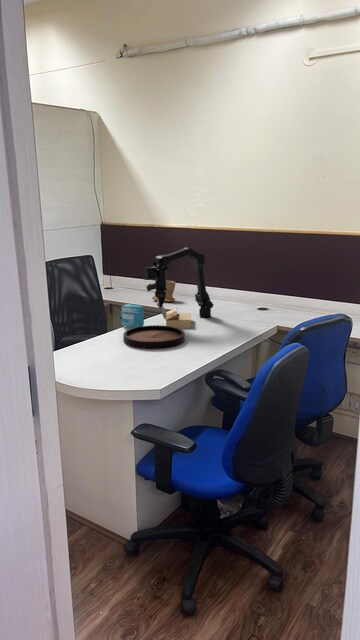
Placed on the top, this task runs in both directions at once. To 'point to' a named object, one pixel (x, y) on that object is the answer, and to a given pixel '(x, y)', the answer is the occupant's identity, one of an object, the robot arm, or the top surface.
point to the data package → (132, 315)
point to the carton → (180, 321)
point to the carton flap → (168, 314)
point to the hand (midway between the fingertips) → (161, 305)
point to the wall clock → (154, 337)
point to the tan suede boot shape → (168, 291)
